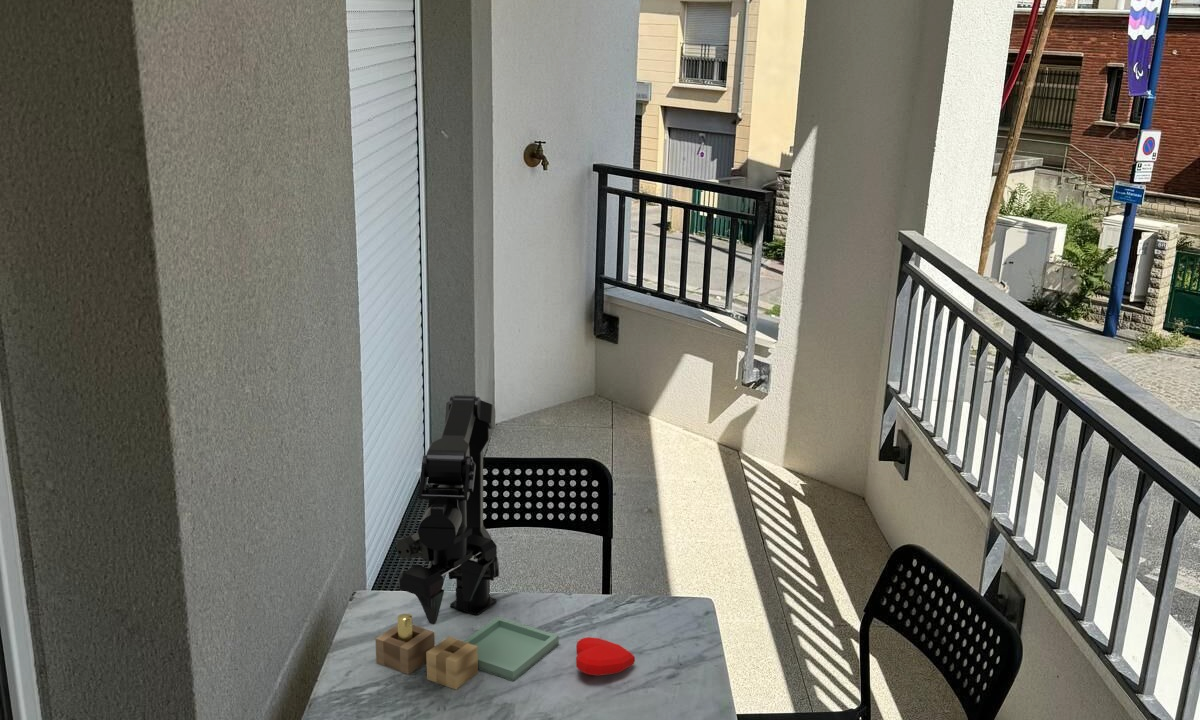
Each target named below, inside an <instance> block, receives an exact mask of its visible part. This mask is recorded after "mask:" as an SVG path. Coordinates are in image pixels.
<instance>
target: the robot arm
mask: <svg viewBox="0 0 1200 720" xmlns="http://www.w3.org/2000/svg"><path fill="white" fill-rule="evenodd" d="M495 425H496V409H495V408H494V405H493V404H492V403H489V402H487V401H485V400H482V399H481V398H480V397H479V396H476V395H463V394H462V395H461V394H460V395H458V394H457V395H456V394H454V395H453V396H450V397H449V401H447V402H446V403H445V414H444V426H443V427H444V428H443V430H442V433H441V435H440V438H439V439H437V440H434V441H433V442H431V443H430V445H429V448H428V449H427V451H426V454H424V455H422V461H421V469H420V478H419V479H420V481H419V488H418V499H419V500H428V501H427V502H428V506H427V509H426V511H425V513H424V515H423V518H422V519H421V521H420V523H419V526H418V529H417V532H416V533H413V534H410V535H407V536H405V535H404V536H401V537H399V538H397V539H396V550H397V551H396V552H397V555H398V557H399V558H402V559H406V560H409V561H410V560H411V559H414V558H421V557H422V562H427V563H429V562H431V563H432V566H430V567H427V566H422V565H420V564H416V565H414V566H412V567H410V568H408V569H407V570H405V571H403V572H402V573H400V575H399V576H398V589H399V590H400V591H404V592H407V593H409V594H413V595H415V596H416V597H417V599H418V601H419V603H420V605H421V607H422V609H423V612H424V614H425V616H426V619H427V621H428V623H429V624H431V625H435V624H436V623H437V621H438V618H439V614H440V610H441V607H442V606H441V605H442V601H443V597H444V592H445V589H442V587H444V586H443V585H444V576H446V575H447V574H448V579H449V580H455V582H456V583H455V584H456V587H455V600H454V601H452V602H451V603H450V604H449V605H450V606H449V607H450V608H453V609H456V610H459V611H463V612H465V613H469V614H471V615H474V616H477V615H480V614H481V613H483V612H484V611H486V610H487V609H489V608H490V607H491V606H493V605H494V604H496V603H497V599H496V598H494V597H491V582H492V581H495V579H496V578H498V577H499V576H500V566H499V565H500V564H499V557H498V550H497V544H496V543H495V541H494V540H493V538H492V536H491V535H490V533H489V531H488V530H487V528H486V527H485V525H484V448H485V447H486V445H487V443H488V442H489V440H490V437H491V436H492V433H493V430H494V429H495V427H496V426H495ZM427 484H428V485H430V486H427ZM431 485H432V486H431ZM433 485H436V486H434V487H433ZM490 581H491V582H490ZM489 593H490V594H489Z"/></svg>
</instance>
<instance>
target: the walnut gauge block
mask: <svg viewBox="0 0 1200 720" xmlns="http://www.w3.org/2000/svg"><path fill="white" fill-rule="evenodd" d="M412 634H413V639H411V640H410V641H408V642H407V643H406V642H403V641H400V640H398V624H396V625H395V626H392V627H391V628H389V629H388V630H387V631H385V632H383V633H382V634H381V635H379V636H377V637H375V660H376V664H378V665H381V666H384V667H387V668H389V669H392V670H395V671H397V672H400V673H403V674H406V675H410V674H411V673H413V672H414V671H416V670H417V669H419V668H420V667H422V666H423V665H424V664H427V660H426V652H427V651H429V650H430V649H432V648H433V647H435V646H436V643H435V631H433V630H430V629H427V628H424V627H420V626H418V625H414V624H412Z"/></svg>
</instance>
